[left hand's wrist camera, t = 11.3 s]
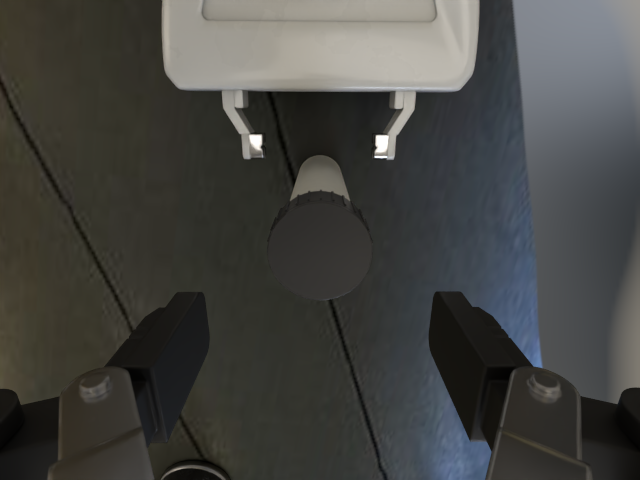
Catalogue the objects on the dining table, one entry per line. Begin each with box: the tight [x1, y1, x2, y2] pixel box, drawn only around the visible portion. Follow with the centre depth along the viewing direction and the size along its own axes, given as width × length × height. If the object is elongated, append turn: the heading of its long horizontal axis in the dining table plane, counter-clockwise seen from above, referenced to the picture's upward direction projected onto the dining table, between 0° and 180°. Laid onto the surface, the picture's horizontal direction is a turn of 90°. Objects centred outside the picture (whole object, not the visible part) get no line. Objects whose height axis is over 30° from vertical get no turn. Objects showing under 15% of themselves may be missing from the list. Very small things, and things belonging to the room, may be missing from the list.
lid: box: [267, 190, 373, 300], centre depth 18 cm, size 5×5×2 cm
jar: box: [290, 155, 350, 201], centre depth 25 cm, size 4×4×18 cm
